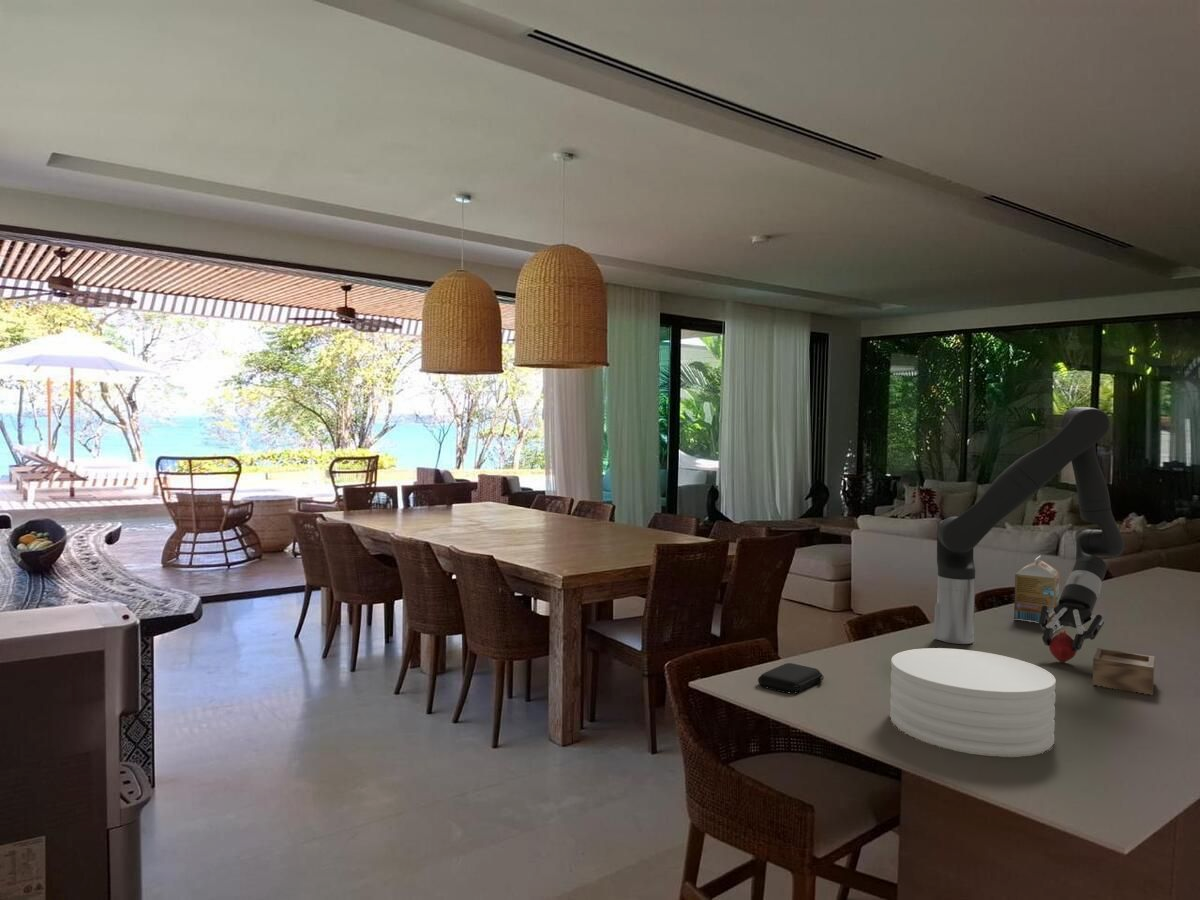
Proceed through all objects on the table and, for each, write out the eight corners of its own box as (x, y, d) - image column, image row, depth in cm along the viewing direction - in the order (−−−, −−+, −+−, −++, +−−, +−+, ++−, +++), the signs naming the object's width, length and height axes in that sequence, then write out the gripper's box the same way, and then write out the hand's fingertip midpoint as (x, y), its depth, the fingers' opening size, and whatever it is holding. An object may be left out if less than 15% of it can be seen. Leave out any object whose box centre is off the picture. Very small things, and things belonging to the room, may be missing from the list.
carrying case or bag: (799, 699, 166) (830, 682, 177) (799, 684, 166) (830, 669, 177) (754, 687, 173) (786, 673, 184) (754, 673, 173) (786, 659, 184)
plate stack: (976, 768, 132) (978, 699, 132) (858, 713, 158) (860, 655, 157) (1089, 744, 143) (1091, 681, 143) (962, 696, 169) (964, 643, 169)
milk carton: (1019, 614, 249) (1021, 553, 249) (1058, 619, 243) (1060, 557, 243) (1014, 620, 241) (1015, 557, 240) (1054, 625, 235) (1055, 561, 234)
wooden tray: (1092, 685, 178) (1093, 658, 177) (1096, 673, 186) (1097, 648, 186) (1152, 695, 171) (1153, 667, 171) (1153, 682, 180) (1154, 656, 180)
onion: (1080, 666, 192) (1081, 633, 192) (1053, 665, 193) (1054, 632, 193) (1070, 660, 198) (1071, 628, 197) (1045, 658, 199) (1046, 626, 199)
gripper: (1046, 578, 205) (1024, 631, 198) (1109, 587, 194) (1088, 643, 187) (1054, 596, 209) (1033, 649, 201) (1116, 606, 198) (1096, 662, 190)
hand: (1060, 646), depth 194 cm, fingers closed on onion, 5 cm apart
